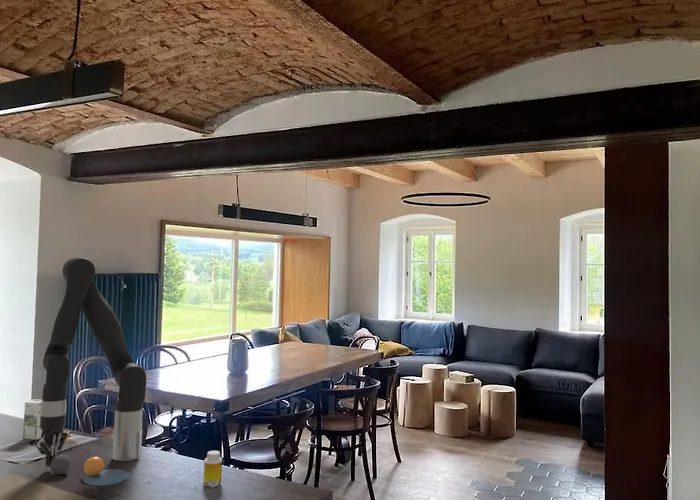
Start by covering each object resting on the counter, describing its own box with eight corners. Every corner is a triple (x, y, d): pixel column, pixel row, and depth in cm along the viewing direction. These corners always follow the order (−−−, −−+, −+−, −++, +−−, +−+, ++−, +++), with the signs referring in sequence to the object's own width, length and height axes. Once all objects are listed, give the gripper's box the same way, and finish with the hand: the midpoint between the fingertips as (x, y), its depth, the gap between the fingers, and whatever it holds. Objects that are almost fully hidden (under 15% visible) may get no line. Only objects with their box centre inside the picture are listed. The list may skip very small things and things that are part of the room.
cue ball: (63, 451, 188) (74, 465, 188) (46, 464, 185) (57, 478, 185) (63, 450, 183) (75, 464, 183) (46, 463, 180) (58, 478, 180)
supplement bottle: (222, 487, 178) (223, 454, 178) (204, 489, 176) (205, 455, 177) (219, 480, 183) (221, 449, 184) (202, 482, 181) (203, 450, 182)
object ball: (93, 464, 188) (108, 469, 187) (80, 477, 183) (97, 482, 182) (91, 450, 186) (107, 455, 185) (78, 463, 180) (95, 468, 179)
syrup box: (45, 436, 223) (47, 399, 224) (35, 440, 217) (38, 402, 218) (32, 435, 224) (34, 398, 224) (22, 439, 218) (24, 401, 218)
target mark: (132, 468, 191) (132, 468, 191) (126, 484, 177) (126, 483, 177) (87, 470, 188) (87, 470, 188) (78, 486, 174) (78, 486, 174)
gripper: (48, 419, 180) (45, 474, 180) (76, 409, 193) (73, 460, 193) (28, 416, 182) (25, 471, 181) (57, 407, 195) (54, 458, 194)
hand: (50, 465), depth 187 cm, fingers closed
